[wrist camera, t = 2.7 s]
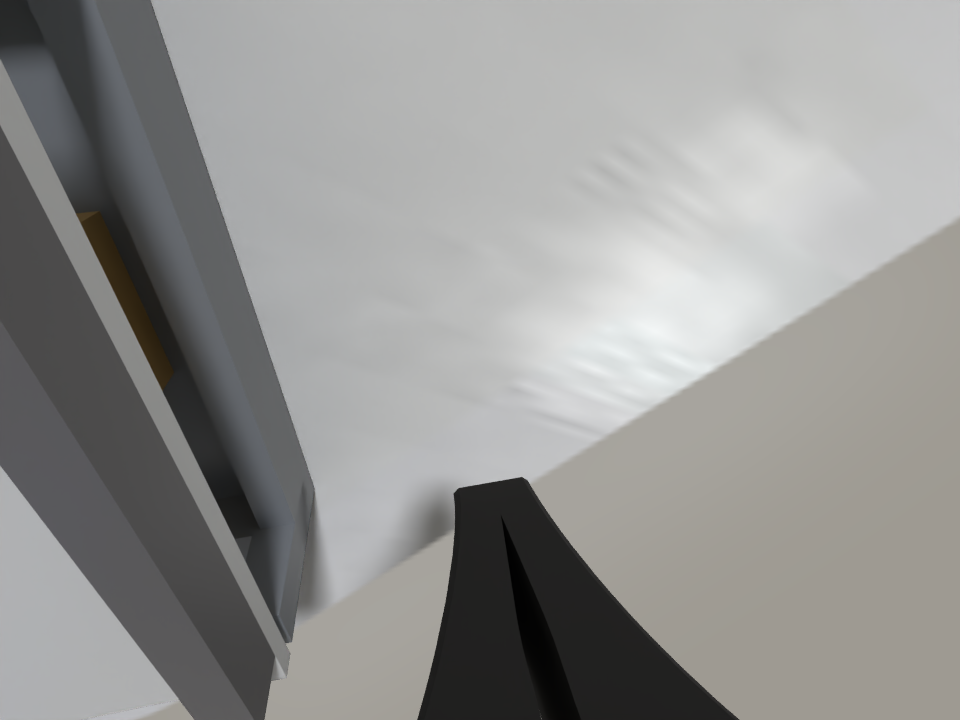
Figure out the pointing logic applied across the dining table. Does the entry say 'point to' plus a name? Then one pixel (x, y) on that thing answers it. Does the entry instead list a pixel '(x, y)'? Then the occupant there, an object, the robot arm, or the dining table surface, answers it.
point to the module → (126, 294)
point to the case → (169, 259)
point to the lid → (103, 493)
